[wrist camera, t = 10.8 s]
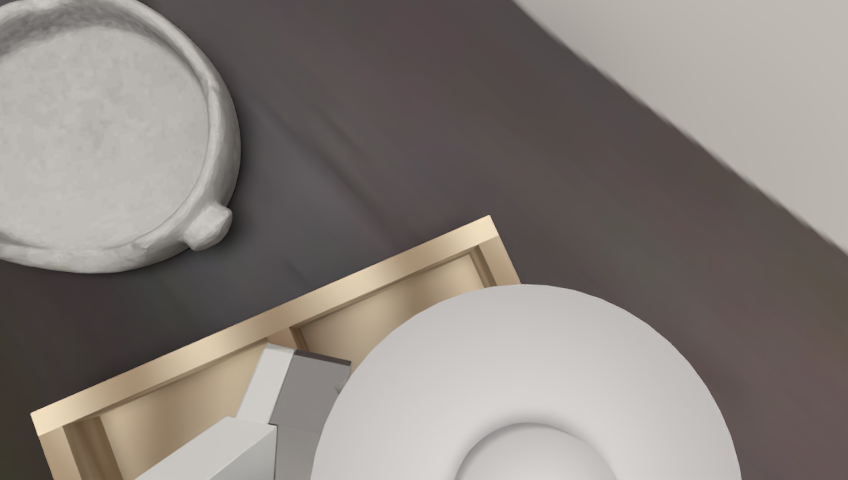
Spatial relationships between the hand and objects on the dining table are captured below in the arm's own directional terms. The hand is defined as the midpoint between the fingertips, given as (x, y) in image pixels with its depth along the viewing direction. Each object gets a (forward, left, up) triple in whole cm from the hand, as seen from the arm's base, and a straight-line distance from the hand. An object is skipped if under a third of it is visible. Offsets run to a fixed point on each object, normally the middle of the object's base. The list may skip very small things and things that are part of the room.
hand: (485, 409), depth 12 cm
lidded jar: (0, +1, -5) cm, 5 cm away
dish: (+10, -16, -22) cm, 29 cm away
